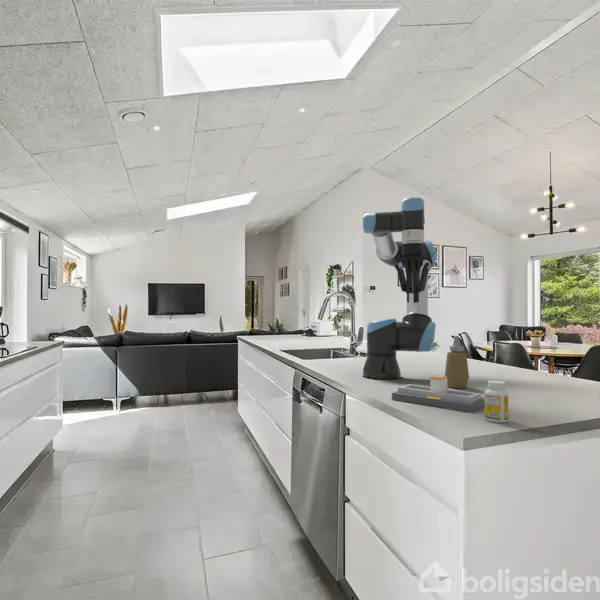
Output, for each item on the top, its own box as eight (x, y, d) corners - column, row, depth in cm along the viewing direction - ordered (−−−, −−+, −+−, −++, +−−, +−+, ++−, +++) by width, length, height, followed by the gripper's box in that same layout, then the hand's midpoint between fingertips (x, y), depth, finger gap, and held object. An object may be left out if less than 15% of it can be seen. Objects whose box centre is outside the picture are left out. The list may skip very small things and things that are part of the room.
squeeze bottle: (472, 389, 151) (472, 336, 152) (448, 389, 152) (448, 336, 152) (464, 385, 160) (464, 335, 160) (441, 385, 160) (441, 335, 160)
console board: (391, 399, 134) (391, 387, 135) (411, 393, 143) (411, 383, 143) (470, 412, 118) (470, 399, 118) (486, 404, 127) (486, 392, 127)
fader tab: (430, 395, 130) (430, 376, 130) (437, 393, 133) (436, 375, 133) (440, 396, 128) (440, 378, 128) (447, 394, 131) (447, 376, 131)
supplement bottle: (491, 423, 107) (491, 383, 107) (480, 417, 112) (480, 380, 113) (512, 422, 108) (512, 383, 108) (500, 417, 113) (500, 379, 113)
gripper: (390, 244, 153) (390, 312, 153) (425, 240, 144) (425, 312, 144) (401, 246, 158) (401, 312, 158) (435, 242, 150) (435, 312, 149)
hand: (412, 312), depth 151 cm, fingers closed
